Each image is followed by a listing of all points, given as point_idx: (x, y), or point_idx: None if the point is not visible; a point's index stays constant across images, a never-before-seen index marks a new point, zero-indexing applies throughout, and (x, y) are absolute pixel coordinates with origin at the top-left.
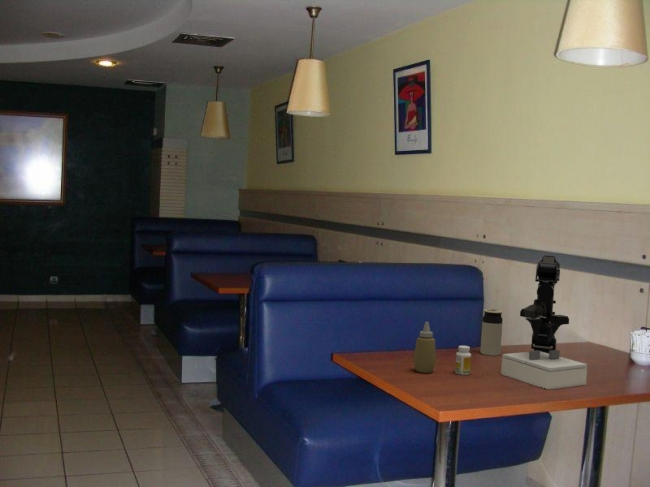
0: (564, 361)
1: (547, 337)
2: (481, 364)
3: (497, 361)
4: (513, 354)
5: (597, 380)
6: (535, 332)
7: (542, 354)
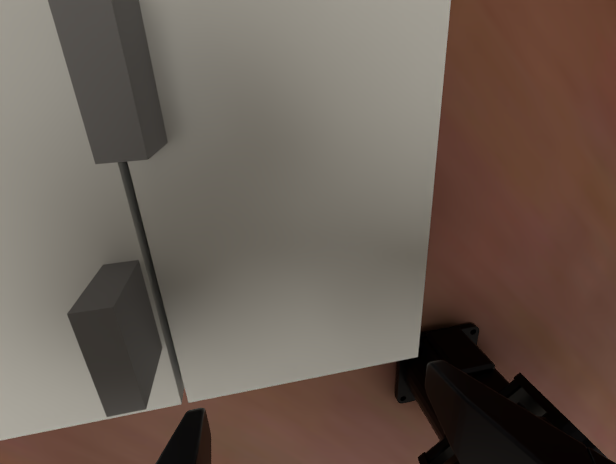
0: (10, 338)
1: (189, 457)
2: (600, 30)
3: (583, 191)
4: (402, 12)
5: (103, 443)
6: (482, 428)
7: (312, 312)
